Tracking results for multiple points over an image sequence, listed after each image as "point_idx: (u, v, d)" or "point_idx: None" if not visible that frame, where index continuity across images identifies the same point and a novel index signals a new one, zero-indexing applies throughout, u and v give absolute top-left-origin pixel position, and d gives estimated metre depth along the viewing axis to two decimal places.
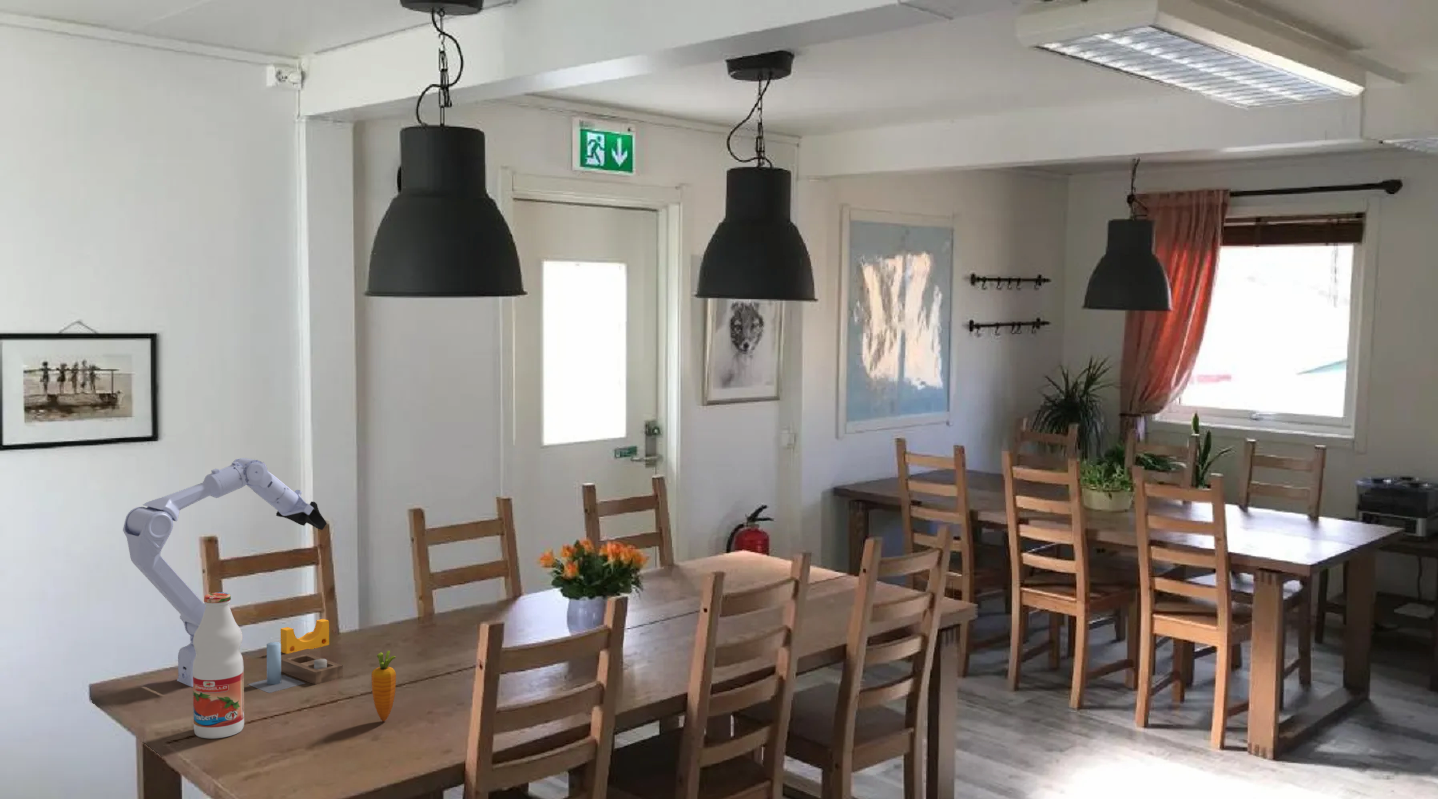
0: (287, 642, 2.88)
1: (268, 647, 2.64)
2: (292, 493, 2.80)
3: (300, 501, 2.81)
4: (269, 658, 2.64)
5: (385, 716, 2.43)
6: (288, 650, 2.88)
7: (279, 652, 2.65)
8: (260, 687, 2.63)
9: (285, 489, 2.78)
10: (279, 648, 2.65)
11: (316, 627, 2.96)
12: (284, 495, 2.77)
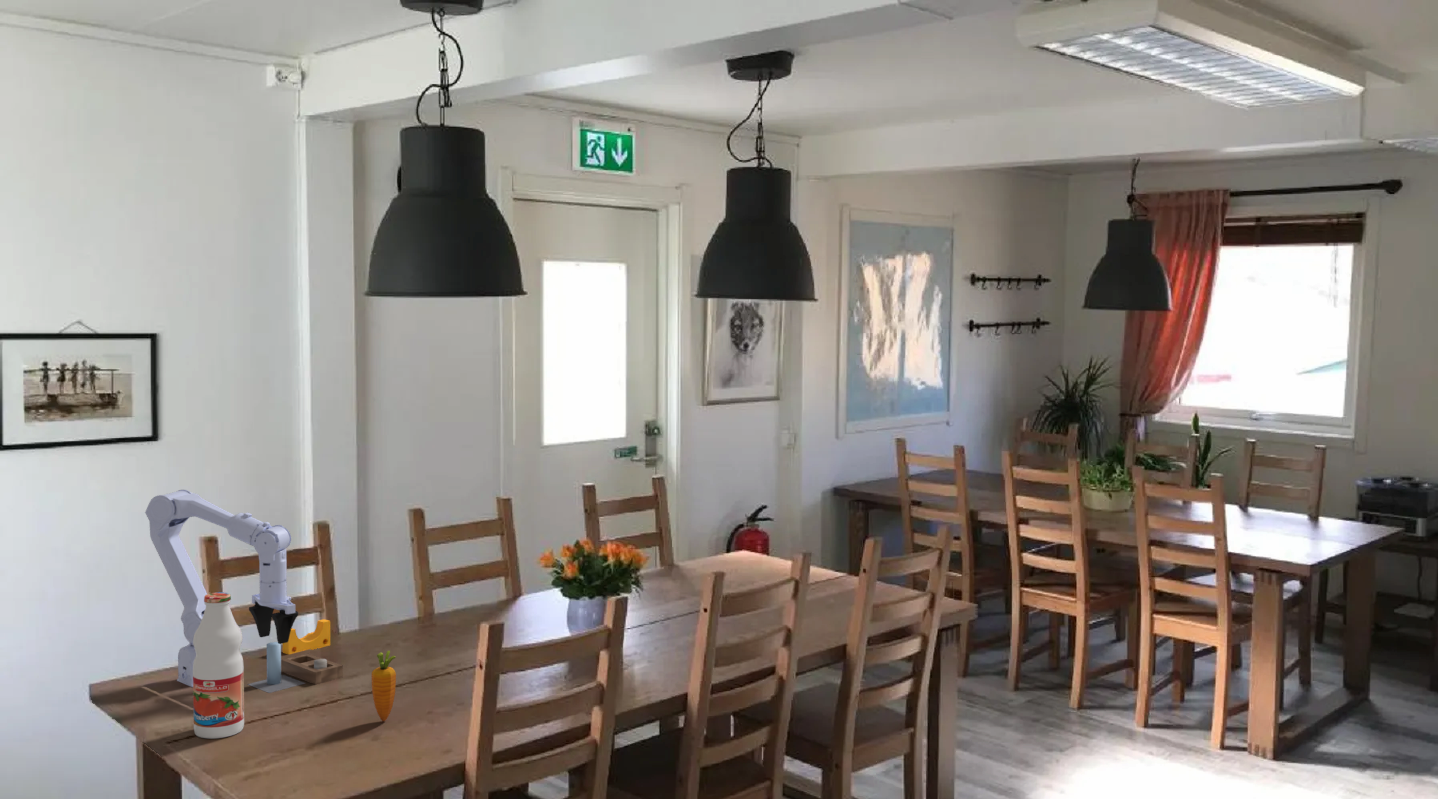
0: (289, 642, 2.87)
1: (268, 647, 2.64)
2: (285, 590, 2.64)
3: (286, 602, 2.64)
4: (269, 658, 2.64)
5: (385, 716, 2.43)
6: (290, 650, 2.88)
7: (279, 652, 2.65)
8: (260, 687, 2.63)
9: (284, 581, 2.64)
10: (279, 648, 2.65)
11: (317, 627, 2.96)
12: (280, 584, 2.63)
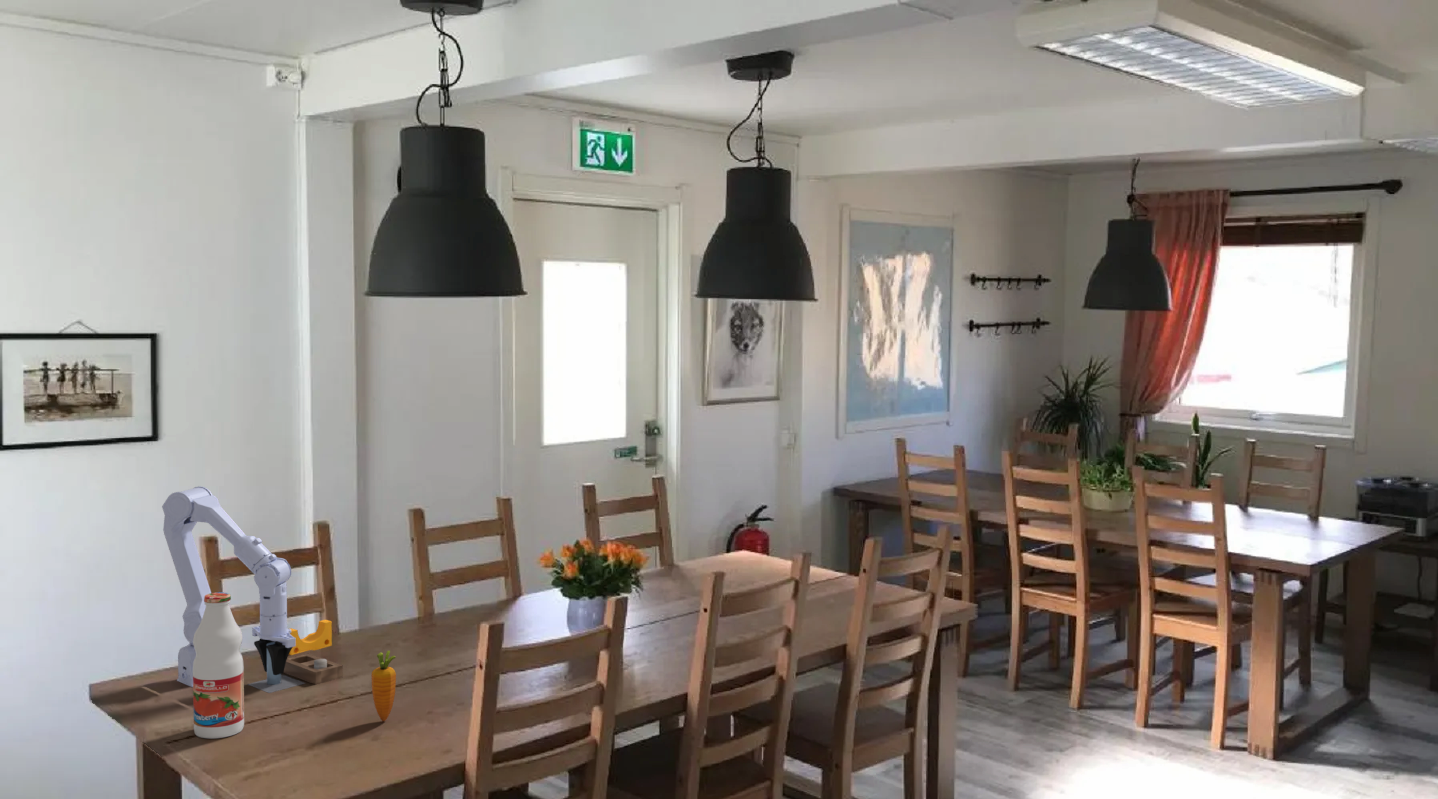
0: None
1: None
2: (286, 623, 2.65)
3: (286, 635, 2.64)
4: (269, 658, 2.64)
5: (385, 716, 2.43)
6: (292, 651, 2.87)
7: None
8: (260, 687, 2.63)
9: (285, 614, 2.64)
10: None
11: (319, 628, 2.96)
12: (280, 617, 2.63)
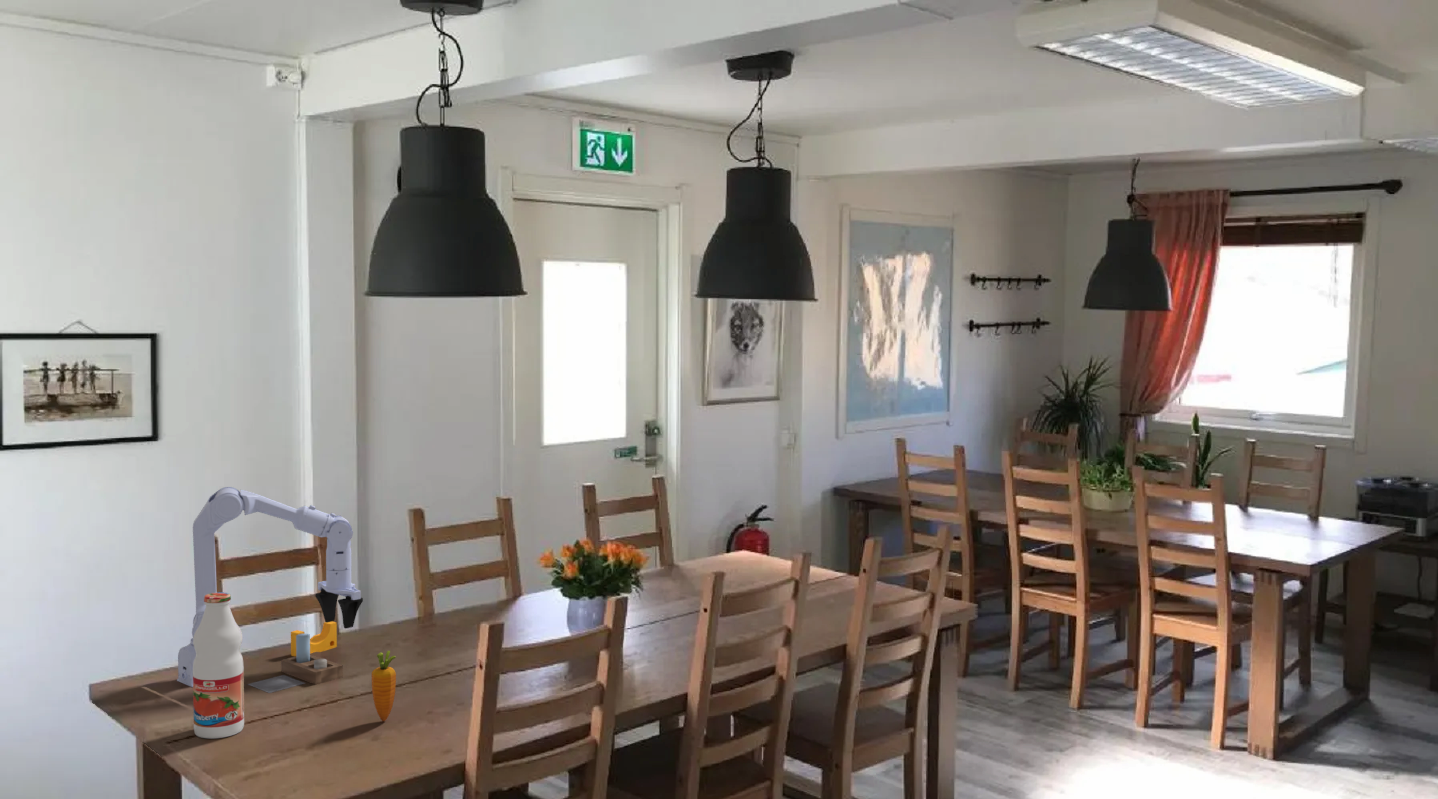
0: None
1: (298, 638, 2.73)
2: (350, 578, 2.78)
3: (351, 589, 2.77)
4: (298, 649, 2.73)
5: (385, 716, 2.43)
6: None
7: (308, 643, 2.74)
8: (260, 687, 2.63)
9: (350, 568, 2.77)
10: (308, 639, 2.74)
11: (324, 629, 2.94)
12: (346, 572, 2.76)
